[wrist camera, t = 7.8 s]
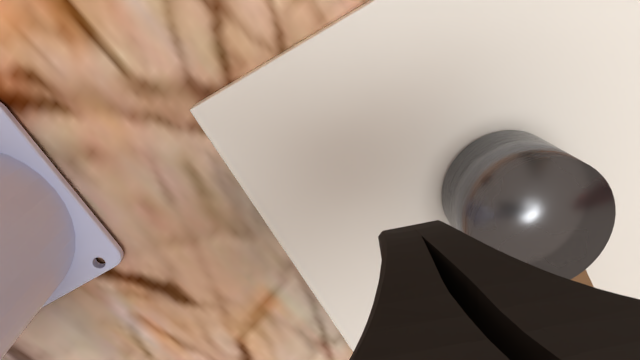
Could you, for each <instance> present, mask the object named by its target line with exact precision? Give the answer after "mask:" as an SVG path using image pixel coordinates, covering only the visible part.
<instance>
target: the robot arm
mask: <svg viewBox="0 0 640 360" xmlns="http://www.w3.org/2000/svg"><path fill="white" fill-rule="evenodd" d="M378 240H379V246H380V253H381V259H382V261H381V269H380V276H379V282H378V286H377V290H376V294H375V298H374V302H373V306H372V309H371V312H370V315H369V318H368V321H367V323H366V326H365V328H364V331H363V333H362V335H361V337H360V339H359V342H358V344H357V346H356V348H355V350H354V352H353V354H352V356H351V358H350V360H640V299H636V298H632V297H628V296H624V295H620V294H616V293H612V292H609V291H605V290H601V289H598V288H594V287H591V286H588V285H585V284H582V283H579V282H576V281H573V280H570V279H567V278H564V277H561V276H558V275H555V274H553V273H550V272H547V271H545V270H542V269H540V268H537V267H535V266H533V265H530V264H528V263H525V262H523V261H521V260H518V259H516V258H514V257H512V256H509V255H507V254H505V253H503V252H501V251H499V250H497V249H495V248H493V247H491V246H489V245H487V244H485V243H483V242H481V241H479V240H477V239H475V238H473V237H471V236H469V235H467V234H465V233H463V232H462V231H460V230H458V229H456V228H454V227H452V226H450V225H448V224H446V223H444V222H442V221H439V220H436V221H431V222H426V223H420V224H415V225H410V226H405V227H400V228H395V229H389V230H384V231H382V232H381V233H380V235H379V236H378ZM123 256H124V255H123V250H122V248H121V247H120V246H119V245H118V243H117V242H116V241H115V240H114V238H113V237H112V236H111V235H110V233H109V232H108V231H107V230H106V229H105V227H104V226H103V225H102V224H101V222H100V221H99V220H98V219H97V218H96V216H95V215H94V214H93V213H92V211H91V210H90V209H89V208H88V207H87V205H86V204H85V203H84V202H83V200H82V199H81V198H80V197H79V196H78V194H77V193H76V192H75V191H74V189H73V188H72V187H71V186H70V185H69V183H68V182H67V181H66V180H65V178H64V177H63V176H62V175H61V174H60V172H59V171H58V170H57V169H56V167H55V166H54V165H53V164H52V162H51V161H50V160H49V159H48V158H47V156H46V155H45V154H44V153H43V151H42V150H41V149H40V148H39V147H38V145H37V144H36V143H35V142H34V140H33V139H32V138H31V137H30V136H29V134H28V133H27V132H26V131H25V129H24V128H23V127H22V126H21V125H20V123H19V122H18V121H17V120H16V118H15V117H14V116H13V115H12V114H11V112H10V111H9V110H8V109H7V107H6V106H5V105H4V104H3V103H1V102H0V360H1V359H2V358H3V357H4V355H5V354H6V353H7V351H8V350H9V349H10V348H11V346H12V345H13V344H14V342H15V341H16V340H17V339H18V337H19V336H20V335H21V333H22V332H23V331H24V330H25V328H26V327H27V326H28V324H29V323H30V322H31V320H32V319H33V318H34V317H35V315H36V314H37V313H38V311H39V310H40V309H41V308H42V307H44V306H46V305H48V304H49V303H51V302H53V301H55V300H57V299H58V298H60V297H62V296H64V295H65V294H67V293H69V292H71V291H73V290H74V289H76V288H78V287H80V286H82V285H83V284H85V283H87V282H89V281H90V280H92V279H94V278H96V277H98V276H99V275H101V274H103V273H105V272H106V271H108V270H110V269H112V268H114V267H115V266H117V265H118V264H119V263H120V262H121V260H122V258H123ZM97 257H99V258H102V259H104V260H105V263H104V264H101V263H99V262H97V260H96V258H97Z"/></svg>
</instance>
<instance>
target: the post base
mask: <svg viewBox="0 0 640 360" xmlns="http://www.w3.org/2000/svg"><path fill="white" fill-rule="evenodd" d="M190 111H191V113H192V114H193V116H194V117H195V119H196V120H197V122H198V123H199V125H200V126H201V128H202V129H203V131H204V132H205V134H206V135H207V137H208V138H209V140H210V141H211V142H212V144H213V145H214V147H215V148H216V150H217V151H218V153H219V154H220V156H221V157H222V159H223V160H224V162H225V163H226V165H227V166H228V168H229V169H230V171H231V172H232V174H233V175H234V176H235V178H236V179H237V181H238V182H239V184H240V185H241V187H242V188H243V190H244V191H245V193H246V194H247V196H248V197H249V199H250V200H251V202H252V203H253V205H254V206H255V208H256V209H257V210H258V212H259V213H260V215H261V216H262V218H263V219H264V221H265V222H266V224H267V225H268V227H269V228H270V230H271V231H272V233H273V234H274V236H275V237H276V239H277V240H278V242H279V243H280V244H281V246H282V247H283V249H284V250H285V252H286V253H287V255H288V256H289V258H290V259H291V261H292V262H293V264H294V265H295V267H296V268H297V270H298V271H299V273H300V274H301V276H302V277H303V279H304V280H305V281H306V283H307V284H308V286H309V287H310V289H311V290H312V292H313V293H314V295H315V296H316V298H317V299H318V301H319V302H320V304H321V305H322V307H323V308H324V310H325V311H326V313H327V314H328V315H329V317H330V318H331V320H332V321H333V323H334V324H335V326H336V327H337V329H338V330H339V332H340V333H341V335H342V336H343V338H344V339H345V341H346V342H347V344H348V345H349V347H350V348H351V349H352V351H353V352H354V350H355V348H356V346H357V344H358V342H359V339H360V337H361V335H362V333H363V331H364V328H365V326H366V323H367V321H368V318H369V315H370V312H371V309H372V306H373V302H374V298H375V294H376V290H377V286H378V282H379V276H380V269H381V261H382V259H381V253H380V246H379V240H378V236H379V235H380V233H381V232H382V231H384V230H389V229H395V228H400V227H405V226H410V225H415V224H420V223H426V222H431V221H436V220H439V221H442V222H444V223H446V224H448V225H450V226H451V224H450V223H449V221H448V220H447V218H446V216H445V213H444V210H443V206H442V186H443V182H444V178H445V176H446V173H447V171H448V169H449V167H450V165H451V164H452V162H453V161H454V159H455V158H456V157H457V155H458V154H459V153H460V152H461V151H462V150H463V149H464V148H466V147H467V146H468V145H469V144H471V143H472V142H474V141H475V140H477V139H479V138H481V137H483V136H485V135H488V134H490V133H493V132H498V131H504V130H519V131H525V132H528V133H531V134H534V135H536V136H538V137H540V138H541V139H543V140H545V141H547V142H549V143H550V144H552V145H554V146H556V147H558V148H559V149H561V150H563V151H565V152H567V153H568V154H570V155H572V156H574V157H576V158H577V159H579V160H581V161H583V162H585V163H587V164H588V165H590V166H592V167H593V168H594V169H596V170H597V171H598V172H599V173H600V174H601V175H602V176H603V177H604V178H605V179H606V181H607V182H608V184H609V186H610V188H611V190H612V193H613V196H614V200H615V206H616V216H615V223H614V227H613V231H612V234H611V236H610V238H609V241H608V243H607V244H606V246H605V248H604V250H603V251H602V252H601V254H600V255H599V256H598V258H597V259H596V260H595V261H594V262H593V263H592V264H591V265H590V266H589V267H588V268H587V269H586V271H587V273H588V276H589V278H590V280H591V282H592V284H593V286H594V288H598V289H601V290H605V291H609V292H612V293H616V294H620V295H624V296H628V297H632V298H636V299H640V0H370V1H368V2H367V3H365V4H363V5H362V6H360V7H358V8H356V9H355V10H353V11H351V12H350V13H348V14H346V15H345V16H343V17H341V18H340V19H338V20H336V21H335V22H333V23H331V24H329V25H328V26H326V27H324V28H323V29H321V30H319V31H318V32H316V33H314V34H313V35H311V36H309V37H308V38H306V39H304V40H302V41H301V42H299V43H297V44H296V45H294V46H292V47H291V48H289V49H287V50H286V51H284V52H282V53H281V54H279V55H277V56H276V57H274V58H272V59H270V60H269V61H267V62H265V63H264V64H262V65H260V66H259V67H257V68H255V69H254V70H252V71H250V72H249V73H247V74H245V75H243V76H242V77H240V78H238V79H237V80H235V81H233V82H232V83H230V84H228V85H227V86H225V87H223V88H222V89H220V90H218V91H217V92H215V93H213V94H211V95H210V96H208V97H206V98H205V99H203V100H201V101H200V102H198V103H196V104H195V105H194V106H193V107H192V108H191V109H190Z"/></svg>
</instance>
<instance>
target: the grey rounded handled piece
mask: <svg viewBox="0 0 640 360" xmlns="http://www.w3.org/2000/svg"><path fill="white" fill-rule="evenodd" d="M442 206H443V210H444V213H445V216H446V218H447V220H448V221H449V223H450V224H451V226H452V227H454V228H456V229H458V230H460V231H462V232H463V233H465V234H467V235H469V236H471V237H473V238H475V239H477V240H479V241H481V242H483V243H485V244H487V245H489V246H491V247H493V248H495V249H497V250H499V251H501V252H503V253H505V254H507V255H509V256H512V257H514V258H516V259H518V260H521V261H523V262H525V263H528V264H530V265H533V266H535V267H537V268H540V269H542V270H545V271H547V272H550V273H553V274H555V275H558V276H561V277H564V278H567V279H570V280H573V281H576V282H579V283H582V284H585V285H588V286H591V287H594V286H593V284H592V282H591V280H590V278H589V276H588V273H587V271H586V269H587V268H588V267H589V266H590V265H591V264H592V263H593V262H594V261H595V260H596V259H597V258H598V256H599V255H600V254H601V252H602V251H603V250H604V248H605V246H606V244H607V243H608V241H609V238H610V236H611V234H612V231H613V227H614V223H615V216H616V206H615V200H614V196H613V193H612V190H611V188H610V186H609V184H608V182H607V181H606V179H605V178H604V177H603V176H602V175H601V174H600V173H599V172H598V171H597V170H596V169H594V168H593V167H592V166H590V165H588V164H587V163H585V162H583V161H581V160H579V159H577V158H576V157H574V156H572V155H570V154H568V153H567V152H565V151H563V150H561V149H559V148H558V147H556V146H554V145H552V144H550V143H549V142H547V141H545V140H543V139H541V138H540V137H538V136H536V135H534V134H531V133H528V132H525V131H519V130H504V131H498V132H493V133H490V134H488V135H485V136H483V137H481V138H479V139H477V140H475V141H474V142H472V143H471V144H469V145H468V146H467V147H466V148H464V149H463V150H462V151H461V152H460V153H459V154H458V155H457V157H456V158H455V159H454V161H453V162H452V164H451V165H450V167H449V169H448V171H447V173H446V176H445V178H444V182H443V186H442Z"/></svg>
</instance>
